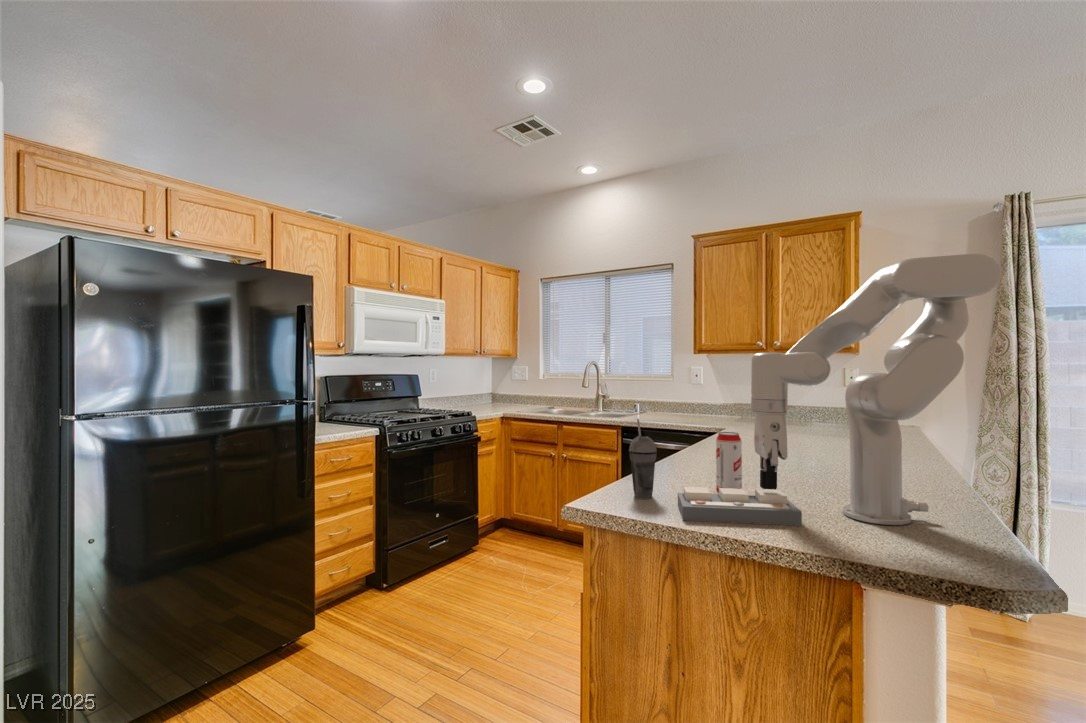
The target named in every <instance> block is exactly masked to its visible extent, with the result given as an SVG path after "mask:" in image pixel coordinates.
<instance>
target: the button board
mask: <svg viewBox="0 0 1086 723" xmlns="http://www.w3.org/2000/svg"><path fill="white" fill-rule="evenodd" d="M748 495H749V503H741V502H722V501H721V500H720V498H719V493H711V502H709V501H685V499H684V492H677V506H678V510H679V513H680V517H681V520H682V521H684V522H685V521H689V522H707V521H716V523H728V522H742V523H741V524H750V523H761V524H760V525H771V524H778V525H777V526H793V527H794V526H796V527H797V526H798V527H802V526H803V524H802V522H803V520H802V519H803V516H802V515H803V514H802V511H801V509H800V508H798V507H797V506H796V505H795V504H793V502H791V501H790V500H789V499H788V498H787V505H784V504H760V503H759V502H758V501H757V500H756V499H755V495H750V494H748ZM744 522H745V523H744ZM779 524H780V525H779Z"/></svg>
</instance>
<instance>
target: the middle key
mask: <svg viewBox="0 0 1086 723" xmlns="http://www.w3.org/2000/svg"><path fill="white" fill-rule="evenodd" d="M718 494H719V498H720V500H721V501H722V502H741V503H749V495H750V494H749V493H748V492H747V491H746V490H745V489H744V488H742V489H734V488H719V493H718Z"/></svg>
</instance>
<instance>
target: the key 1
mask: <svg viewBox="0 0 1086 723" xmlns="http://www.w3.org/2000/svg"><path fill="white" fill-rule="evenodd" d="M683 493H684V499H685V501H709V502H711V494H712V493H711V491H710V489H709V487H704V486H702V487H701V486H699V487H697V486H683Z"/></svg>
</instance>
